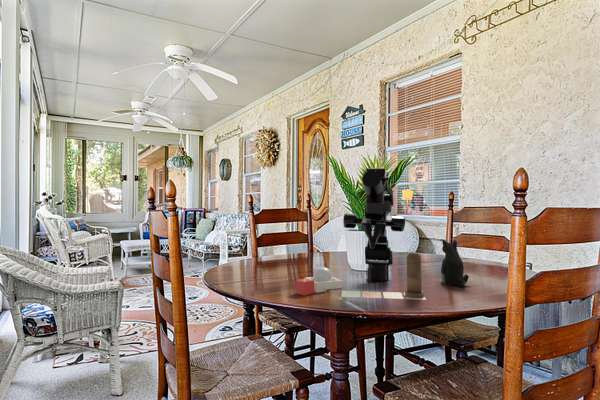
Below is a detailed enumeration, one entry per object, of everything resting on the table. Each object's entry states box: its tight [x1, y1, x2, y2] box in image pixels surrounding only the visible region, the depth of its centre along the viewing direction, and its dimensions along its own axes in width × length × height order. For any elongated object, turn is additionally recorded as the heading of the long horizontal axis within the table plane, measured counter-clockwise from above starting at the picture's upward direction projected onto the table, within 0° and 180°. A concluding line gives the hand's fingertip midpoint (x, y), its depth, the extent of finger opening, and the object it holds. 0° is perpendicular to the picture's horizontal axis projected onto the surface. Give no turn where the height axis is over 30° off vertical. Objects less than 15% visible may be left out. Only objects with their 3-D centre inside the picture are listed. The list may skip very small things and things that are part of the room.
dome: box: [313, 266, 334, 282], centre depth 123 cm, size 6×6×6 cm
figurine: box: [438, 239, 470, 288], centre depth 126 cm, size 10×10×15 cm
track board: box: [339, 290, 427, 301], centre depth 110 cm, size 24×10×1 cm, turn 81°
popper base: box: [305, 276, 343, 294], centre depth 123 cm, size 9×9×3 cm
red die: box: [294, 277, 315, 297], centre depth 116 cm, size 4×4×4 cm
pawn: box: [404, 251, 425, 298], centre depth 109 cm, size 5×5×13 cm
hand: (372, 248), depth 116 cm, fingers closed
